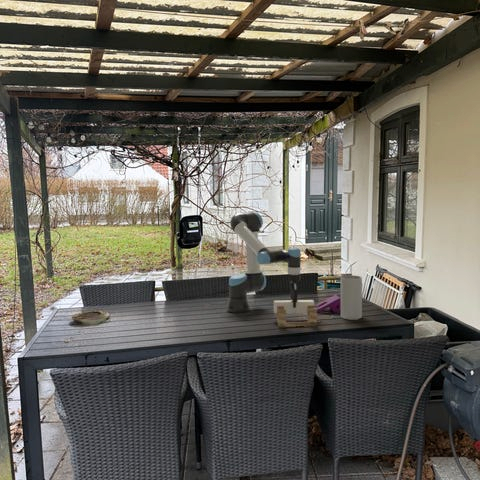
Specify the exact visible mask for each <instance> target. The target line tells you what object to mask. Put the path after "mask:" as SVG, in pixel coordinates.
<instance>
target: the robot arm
mask: <svg viewBox="0 0 480 480" xmlns="http://www.w3.org/2000/svg"><path fill="white" fill-rule="evenodd" d="M263 225H264V221H263V218H262V215H260V213H259V212H255V211H250V212H238V213H235V214H233V216H231V219H230V228H231V230H232V231H233V233H234V234H235V235H238V236H239V237H240V239H241V240H242V241H244V242H245V252H246V253H245V254H246V256H245V257H246V269H247V270H246V271H245V272H244V273H239V274H234V275H231V276H229V278H228V288H229V289H228V290H229V291H228V293H229V300H228V301H227V302H228V303H227V306H226V311H227V312H229V313H233V314H235V313H236V314H238V313H239V314H241V313H248V312H249V311H250V310H251V307H250V303H249V300H248V294H249V293H255V292H260V291H263V290H264V289H265V287H266V285H267V277H266V276H265V274H264V273H263V271H262V269H261V268H260V267H261V266H260V265H265V266H266V265H268V264H269V265H271V264H277V263H287V280H288V281H290V282H289V283H290V296H289V297H290V300H292V301H291V302H292V313H291V314H298V313H297V300H298V289H299V287H298V285H299V284H298V282H299V281H301V270H302V268H301V261H302V260H301V258H302V257H301V254H302V253H301V249H300V248H298V247H289V248H288V249H284V248H277V249H275V250H269V249H268V248H267V247H266V246H265V244H264V243H263V241H261V240H260V239H259V233H261V232H260V229H262V228H263Z"/></svg>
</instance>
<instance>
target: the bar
mask: <svg viewBox="0 0 480 480" xmlns="http://www.w3.org/2000/svg"><path fill="white" fill-rule="evenodd" d="M291 301H292V299H290V300H288V299H286V300H285V299H284V300H283V299H282V300H279V299H278V300H276V299H275V300H273V314H276V315H277V306H284V310H286V314H293V313H292V302H291ZM307 305H314V308H319V305H317V304H315V301H314V299H297V313H296V314H307Z"/></svg>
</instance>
